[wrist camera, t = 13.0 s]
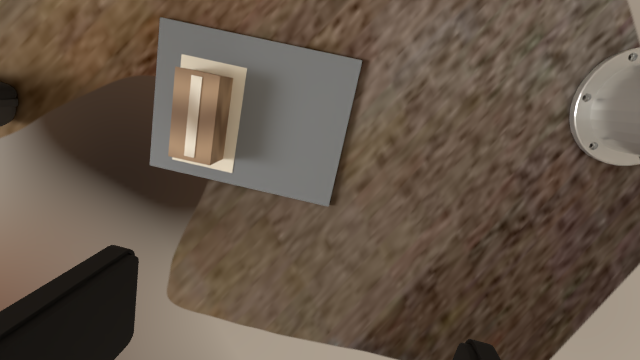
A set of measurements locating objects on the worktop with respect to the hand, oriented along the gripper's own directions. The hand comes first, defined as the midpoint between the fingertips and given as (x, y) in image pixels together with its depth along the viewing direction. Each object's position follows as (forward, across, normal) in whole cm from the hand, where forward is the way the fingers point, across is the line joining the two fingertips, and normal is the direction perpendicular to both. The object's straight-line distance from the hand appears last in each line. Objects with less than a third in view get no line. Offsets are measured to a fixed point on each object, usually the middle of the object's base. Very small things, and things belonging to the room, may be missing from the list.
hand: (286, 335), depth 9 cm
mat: (+32, +12, -1) cm, 34 cm away
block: (+31, +17, 0) cm, 36 cm away
